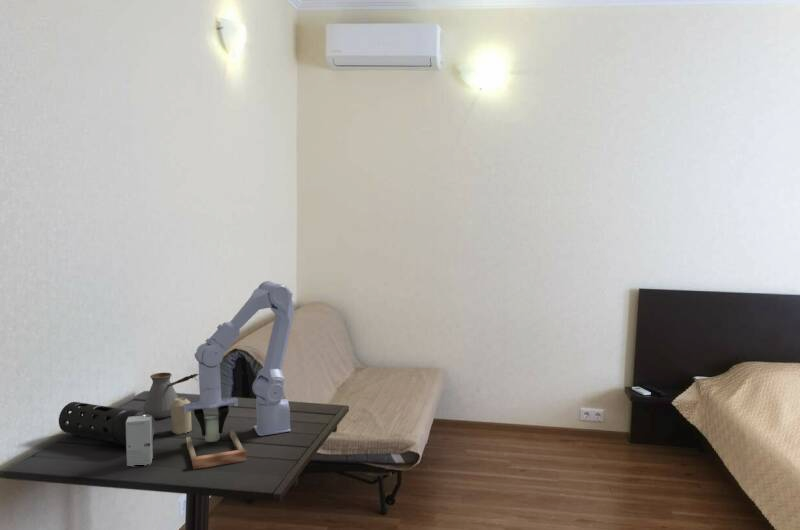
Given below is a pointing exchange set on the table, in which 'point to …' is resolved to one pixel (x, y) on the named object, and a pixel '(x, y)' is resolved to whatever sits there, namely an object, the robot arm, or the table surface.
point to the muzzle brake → (98, 421)
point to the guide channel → (217, 455)
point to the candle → (180, 416)
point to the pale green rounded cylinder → (212, 429)
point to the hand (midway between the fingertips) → (212, 433)
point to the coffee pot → (162, 395)
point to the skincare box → (139, 440)
